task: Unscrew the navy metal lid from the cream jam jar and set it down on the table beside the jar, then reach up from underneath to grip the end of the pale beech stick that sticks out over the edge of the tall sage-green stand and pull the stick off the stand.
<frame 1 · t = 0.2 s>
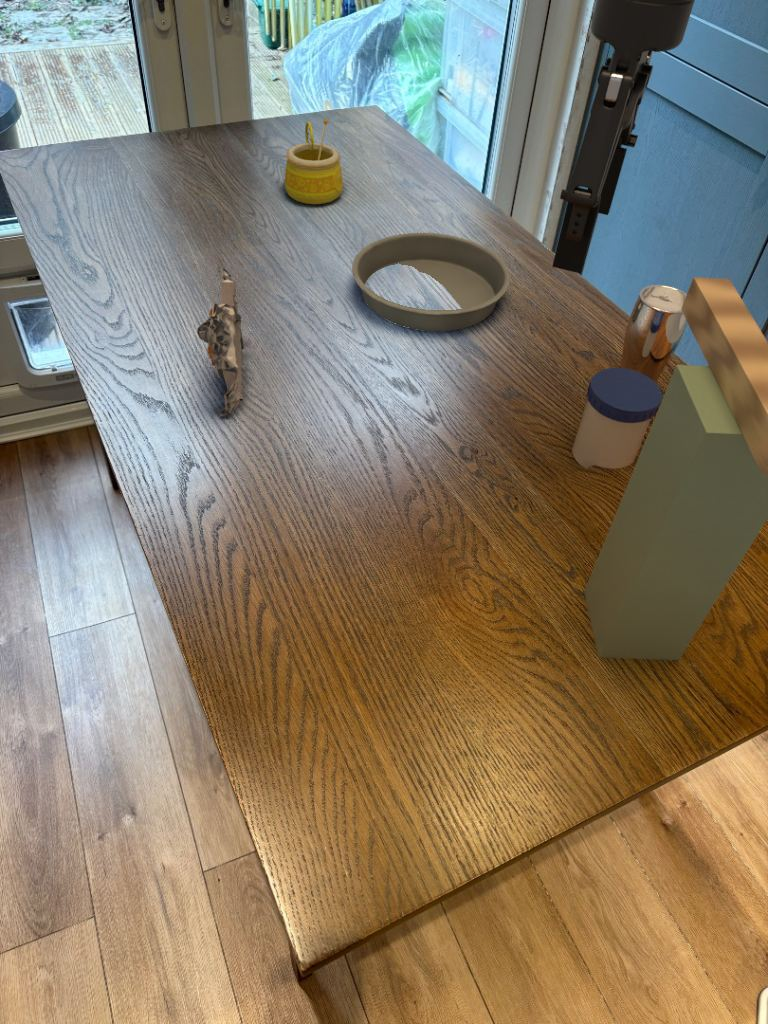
hand: (582, 238, 75), 28 cm above the table, tool pointing down, fingers open, 13 cm apart
yellow pot: (316, 194, 143), on the table
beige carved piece: (228, 385, 101), on the table
stand: (626, 631, 77), on the table
beech stick: (735, 382, 56), point 30 cm above the table, touching stand
cake pan: (428, 296, 120), on the table
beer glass: (630, 395, 105), on the table
jar lid: (625, 391, 88), point 10 cm above the table, screwed on, not yet turned
jam jar: (602, 454, 95), on the table
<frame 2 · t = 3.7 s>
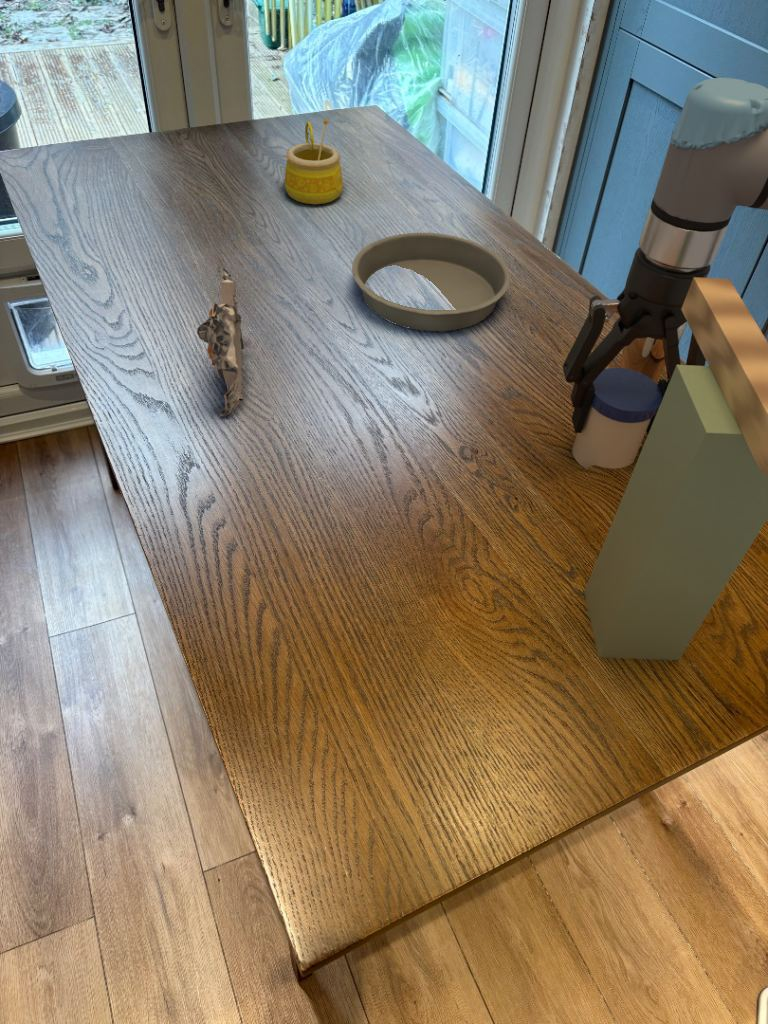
hand: (612, 427, 92), 5 cm above the table, tool pointing down, fingers closed on jar lid, 8 cm apart
jar lid: (625, 391, 88), point 10 cm above the table, screwed on, not yet turned, touching gripper
everything else where it was.
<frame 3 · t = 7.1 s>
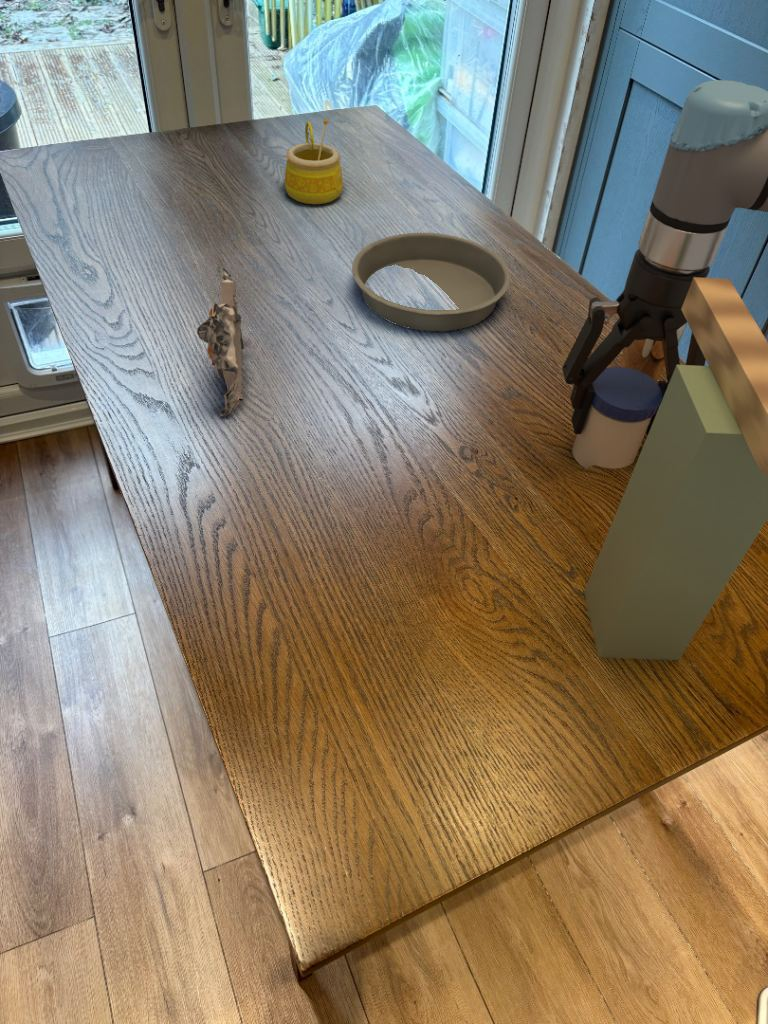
hand: (612, 428, 92), 4 cm above the table, tool pointing down, fingers closed on jar lid, 8 cm apart
jar lid: (625, 390, 88), point 10 cm above the table, turned 106° so far, risen 0.2 cm, still on its thread, touching gripper
everything else where it was.
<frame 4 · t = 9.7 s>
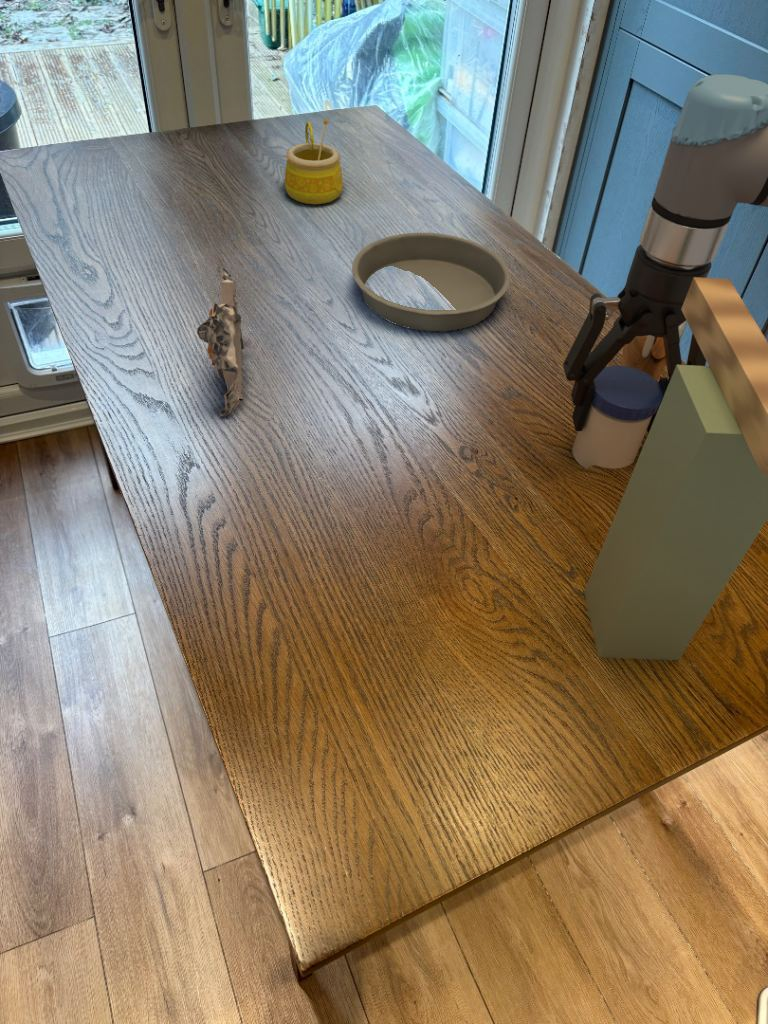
hand: (613, 425, 92), 5 cm above the table, tool pointing down, fingers closed on jar lid, 8 cm apart
jar lid: (626, 389, 88), point 10 cm above the table, turned 212° so far, risen 0.3 cm, still on its thread, touching gripper
everything else where it was.
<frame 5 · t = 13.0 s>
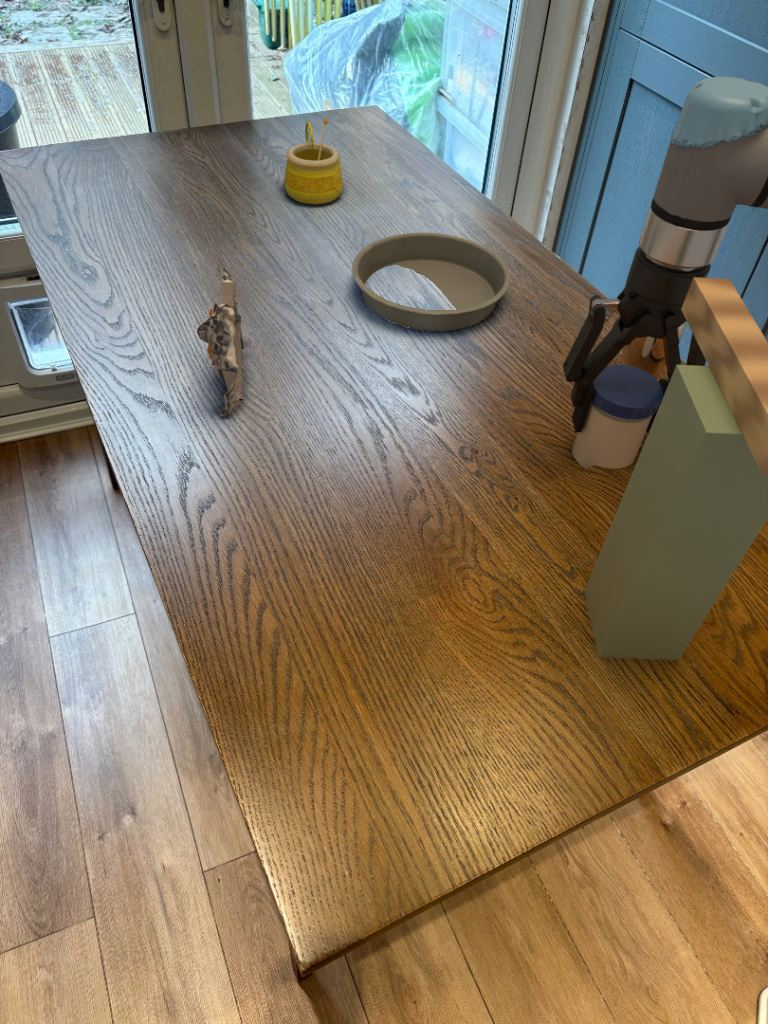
hand: (612, 426, 92), 5 cm above the table, tool pointing down, fingers closed on jar lid, 8 cm apart
jar lid: (626, 388, 88), point 10 cm above the table, turned 319° so far, risen 0.5 cm, still on its thread, touching gripper
everything else where it was.
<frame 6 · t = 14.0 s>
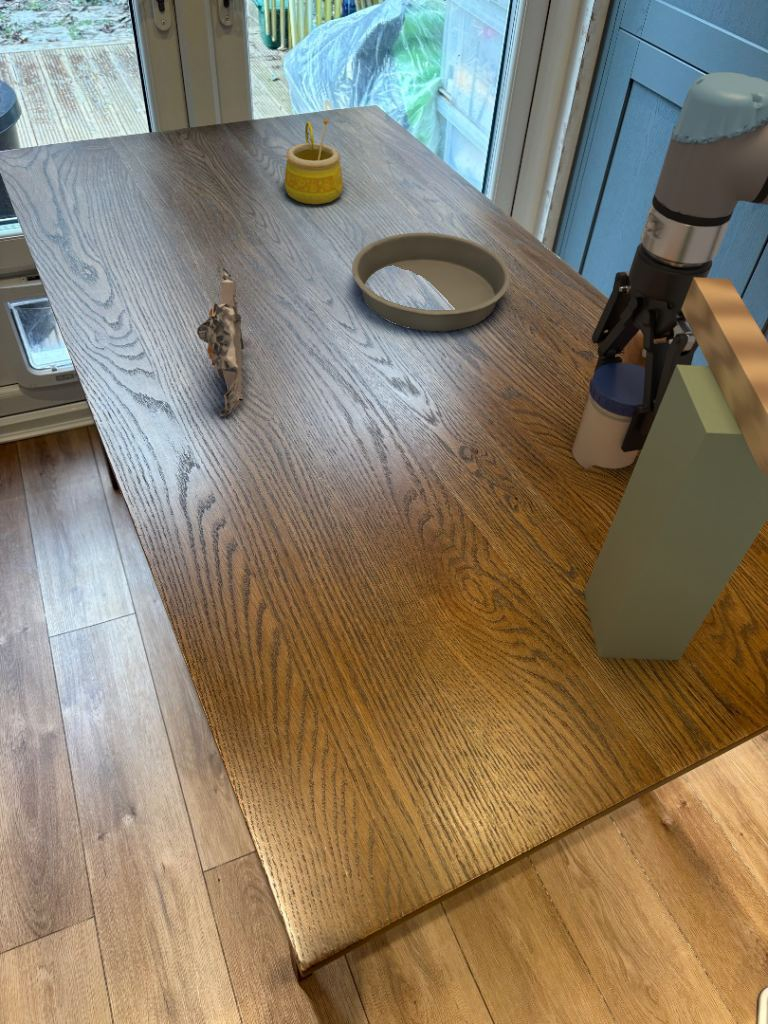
hand: (614, 424, 92), 5 cm above the table, tool pointing down, fingers closed on jar lid, 8 cm apart
jar lid: (627, 386, 87), point 11 cm above the table, off its thread, touching gripper
everything else where it was.
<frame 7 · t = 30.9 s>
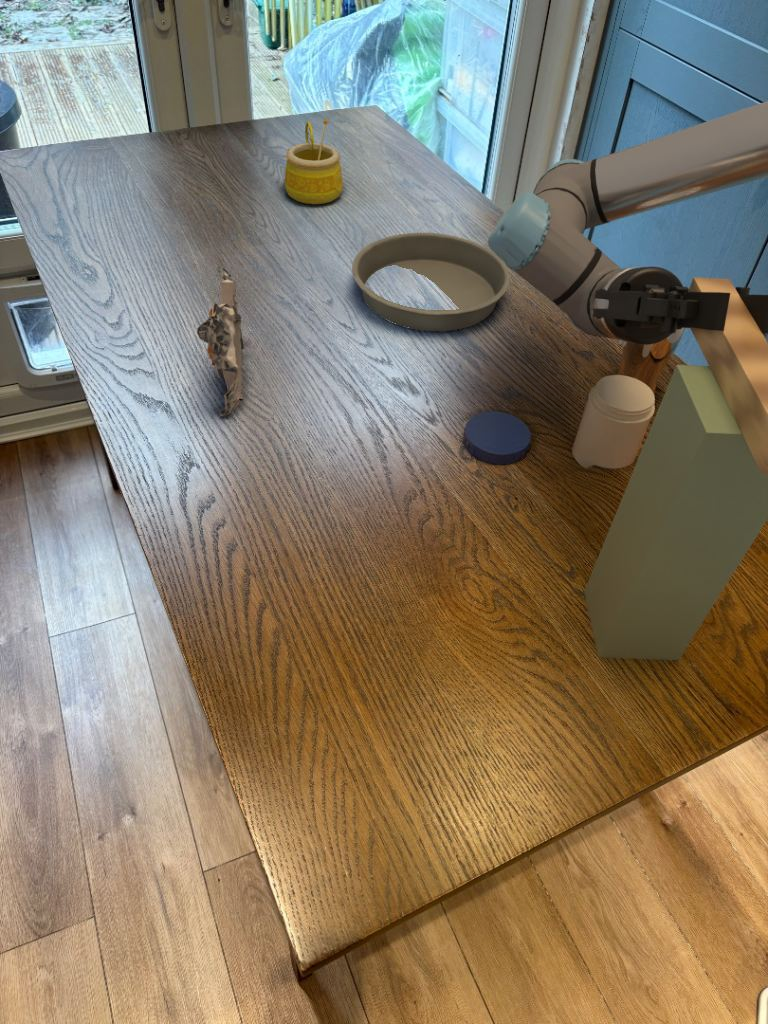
hand: (746, 313, 55), 34 cm above the table, tool pointing upward, fingers closed on beech stick, 3 cm apart
beech stick: (735, 382, 56), point 30 cm above the table, touching gripper, stand
jar lid: (497, 434, 95), point 1 cm above the table, off its thread
everything else where it was.
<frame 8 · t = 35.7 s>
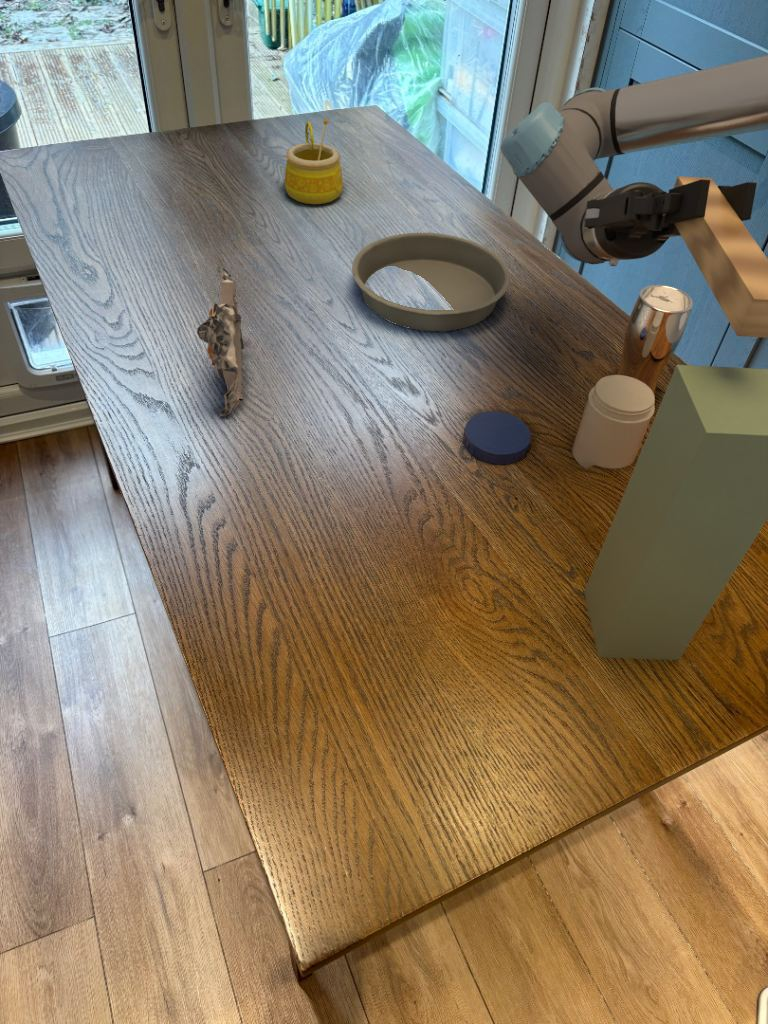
hand: (725, 199, 59), 38 cm above the table, tool pointing upward, fingers closed on beech stick, 3 cm apart
beech stick: (715, 266, 60), point 34 cm above the table, touching gripper
everything else where it was.
at the end: jar lid point 1.3 cm above the table; beech stick moved 10.8 cm from its start; the gripper is holding beech stick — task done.
